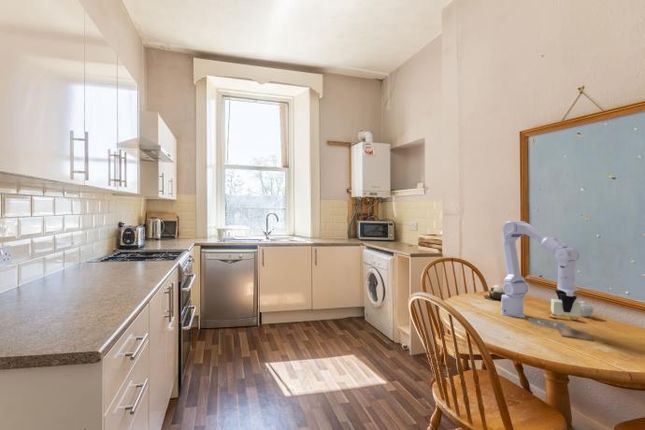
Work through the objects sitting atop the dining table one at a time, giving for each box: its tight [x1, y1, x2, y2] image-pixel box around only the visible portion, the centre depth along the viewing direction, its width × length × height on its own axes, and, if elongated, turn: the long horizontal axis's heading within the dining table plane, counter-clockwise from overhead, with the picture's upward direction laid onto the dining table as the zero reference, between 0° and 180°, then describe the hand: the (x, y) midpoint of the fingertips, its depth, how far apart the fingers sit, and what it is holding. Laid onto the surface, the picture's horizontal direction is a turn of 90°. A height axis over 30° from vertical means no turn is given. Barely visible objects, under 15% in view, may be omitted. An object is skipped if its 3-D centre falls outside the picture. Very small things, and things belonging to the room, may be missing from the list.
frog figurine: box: [577, 300, 594, 318], centre depth 161 cm, size 6×7×7 cm
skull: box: [483, 285, 506, 302], centre depth 191 cm, size 12×10×10 cm
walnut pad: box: [555, 327, 594, 342], centre depth 136 cm, size 10×10×1 cm
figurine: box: [547, 311, 580, 321], centre depth 156 cm, size 8×6×12 cm
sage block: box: [550, 298, 581, 318], centre depth 140 cm, size 9×6×5 cm, turn 66°
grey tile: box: [527, 317, 570, 329], centre depth 149 cm, size 14×10×1 cm
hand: (565, 310), depth 140 cm, fingers closed on sage block, 5 cm apart
